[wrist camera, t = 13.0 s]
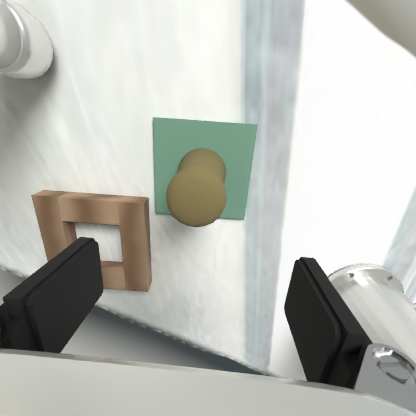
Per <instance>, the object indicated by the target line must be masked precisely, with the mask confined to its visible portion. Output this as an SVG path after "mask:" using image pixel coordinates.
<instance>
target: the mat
mask: <svg viewBox="0 0 416 416" xmlns="http://www.w3.org/2000/svg"><path fill="white" fill-rule="evenodd" d="M256 130H257V125H254V124H240V123H226V122H212V121H197V120H183V119H169V118H155V117H153V137H154V175H155V213H161V214H171V212H170V211H169V209H168V206H167V201H166V192H167V187H168V185H169V183H170V181H171V179H172V178H173V177H174V176H175V175H176V174H177V173H178V168H179V164H180V161H181V159H182V158H183V157H184V156H185V155H186V154H187V153H188V152H190V151H192V150H194V149H198V148H205V149H210V150H212V151H214V152H216V153H217V154H218V155H219V156H220V157H221V158H222V159H223V162H224V164H225V166H226V177H225V181H224V186H225V188H226V195H227V201H226V205H225V208H224V210H223V212H222V213H221V215H220V217H219V218H231V219H244V216H245V209H246V202H247V195H248V188H249V181H250V173H251V166H252V159H253V152H254V145H255V138H256Z"/></svg>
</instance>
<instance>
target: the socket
mask: <svg viewBox="0 0 416 416" xmlns="http://www.w3.org/2000/svg"><path fill="white" fill-rule="evenodd" d="M31 196H32V200H33V204H34V208H35V212H36V216H37V220H38V224H39V228H40V232H41V236H42V240H43V244H44V248H45V252H46V256H47V260H48V262H49V261H50V260H51V259H53V258H54V257H55V256H56V255H58V254H59V253H60V252H61V251H63V250H64V249H65V248H67V247H68V246H69V245H70V244H72V243H73V242H74V241H75V240H77V237H76V232H75V226H74V222H84V223H98V224H112V225H120V234H121V244H122V255H123V262H112V261H100V262H101V270H102V278H103V286H104V288H105V289H119V290H133V291H146V292H148V290H149V287H150V284H151V282H152V278H151V252H150V226H149V200H148V198H146V197H132V196H118V195H105V194H91V193H77V192H63V191H49V190H43V191H41V192H39V193H36V194H34V195H31Z"/></svg>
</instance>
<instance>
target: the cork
mask: <svg viewBox="0 0 416 416" xmlns="http://www.w3.org/2000/svg"><path fill="white" fill-rule="evenodd" d="M225 177H226V166H225V164H224V162H223V159H222V158H221V157H220V156H219V155H218V154H217V153H216V152H214V151H212V150H210V149H205V148H198V149H194V150H192V151H190V152H188V153H187V154H186V155H185V156H184V157H183V158H182V159H181V161H180V164H179V168H178V173H177V174H176V175H175V176H174V177H173V178H172V179H171V181H170V183H169V185H168V187H167V192H166V201H167V206H168V209H169V211H170V212H171V214H172V216H173V217H174V218H176V219H177V220H178V221H179V222H181V223H183V224H185V225H187V226H193V227H201V226H206V225H208V224H211V223H213V222H214V221H215V220H216V219H218V218H219V217H220V215H221V213H222V212H223V210H224V208H225V205H226V201H227V195H226V188H225V186H224V181H225Z"/></svg>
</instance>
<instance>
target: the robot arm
mask: <svg viewBox="0 0 416 416" xmlns="http://www.w3.org/2000/svg"><path fill="white" fill-rule="evenodd" d="M103 289H104V286H103V278H102V270H101V262H100V254H99V246H98V243H97V242H96V241H95V240H94V239H93V238H85V237H80V238H78V239H77V240H75V241H74V242H73V243H72V244H70V245H69V246H68V247H67V248H65V249H64V250H63V251H61V252H60V253H59V254H58V255H56V256H55V257H54V258H53V259H51V260H50V261H49V262H47V263H46V264H45V265H44V266H42V267H41V268H40V269H39V270H37V271H36V272H35V273H33V274H32V275H31V276H30V277H28V278H27V279H26V280H25V281H23V282H22V283H21V284H20V285H18V286H17V287H16V288H14V289H13V290H12V291H11V292H9V293H8V294H7V295H6V296H4V297H3V301H4V303H3V304H2V305H1V306H0V416H416V303H412V302H411V301H410V300H409V299H408V298H407V297H406V296H405V295H404V290H403V285H402V283H401V281H400V280H399V279H398V278H397V277H396V276H395V275H394V274H393V273H392V272H391V271H389V270H388V269H386V268H384V267H382V266H378V265H373V264H360V265H354V266H349V267H346V268H344V269H341V270H339V271H337V272H336V273H334V274H332V275H331V276H330V277H327V276H326V274H325V273H324V271H323V270H322V269H321V267H320V266H319V264H318V263H317V261H316V260H315V259H314V258H306V257H300V259H299V260H296V261H295V264H294V268H293V272H292V276H291V280H290V284H289V289H288V293H287V297H286V301H285V306H284V310H285V315H286V318H287V321H288V324H289V327H290V330H291V333H292V336H293V339H294V342H295V345H296V348H297V351H298V354H299V357H300V360H301V363H302V366H303V369H304V372H305V376H306V379H307V381H301V380H293V379H286V378H278V377H270V376H262V375H253V374H244V373H236V372H226V371H218V370H210V369H201V368H192V367H183V366H174V365H165V364H156V363H147V362H137V361H128V360H119V359H109V358H100V357H90V356H80V355H71V354H61V353H60V352H61V351H62V350H63V348H64V347H65V345H66V344H67V343H68V341H69V340H70V338H71V337H72V336H73V334H74V333H75V331H76V330H77V329H78V327H79V326H80V324H81V323H82V322H83V320H84V319H85V317H86V316H87V315H88V313H89V312H90V310H91V309H92V308H93V306H94V305H95V303H96V302H97V301H98V299H99V298H100V296H101V295H102V293H103Z"/></svg>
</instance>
